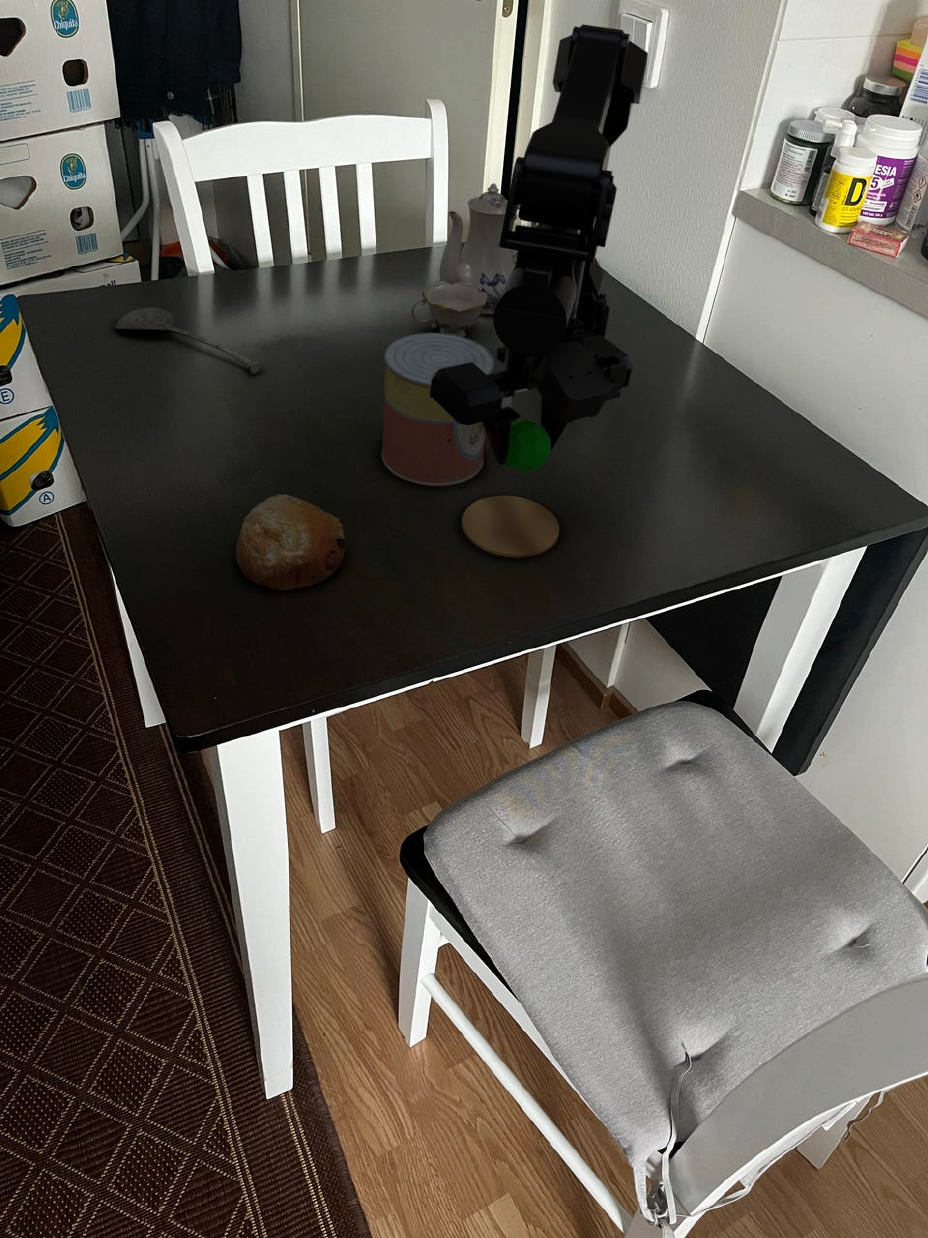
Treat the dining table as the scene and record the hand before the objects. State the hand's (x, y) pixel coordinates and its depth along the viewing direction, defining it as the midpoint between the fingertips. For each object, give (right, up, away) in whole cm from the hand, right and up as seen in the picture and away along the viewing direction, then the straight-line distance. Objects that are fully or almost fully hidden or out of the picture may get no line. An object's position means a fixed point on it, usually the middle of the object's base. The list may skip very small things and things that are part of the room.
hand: (522, 456), depth 96 cm
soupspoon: (-40, +18, +28) cm, 52 cm away
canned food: (-9, +2, +14) cm, 17 cm away
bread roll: (-22, -10, -1) cm, 24 cm away
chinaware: (-2, +27, +43) cm, 51 cm away
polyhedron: (0, -1, +1) cm, 1 cm away
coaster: (-1, -6, +6) cm, 8 cm away
